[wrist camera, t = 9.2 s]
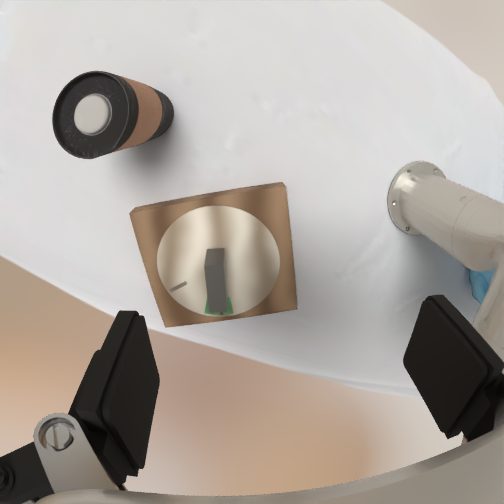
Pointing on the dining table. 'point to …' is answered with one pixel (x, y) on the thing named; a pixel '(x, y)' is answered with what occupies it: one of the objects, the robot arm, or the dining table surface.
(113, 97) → the travel mug
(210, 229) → the brown wooden flat block
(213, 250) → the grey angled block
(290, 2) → the dining table surface
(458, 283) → the dining table surface
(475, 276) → the teakettle
